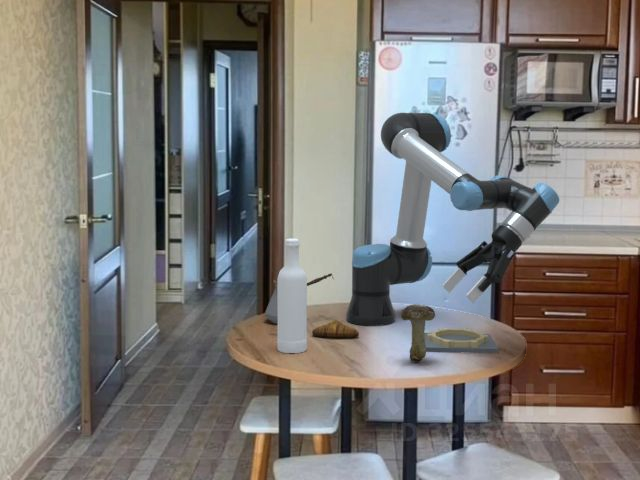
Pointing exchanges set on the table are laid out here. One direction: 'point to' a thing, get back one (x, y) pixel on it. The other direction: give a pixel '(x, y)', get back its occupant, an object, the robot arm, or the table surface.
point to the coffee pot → (273, 305)
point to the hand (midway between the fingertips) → (457, 294)
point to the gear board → (459, 341)
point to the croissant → (335, 330)
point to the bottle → (292, 302)
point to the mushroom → (418, 328)
